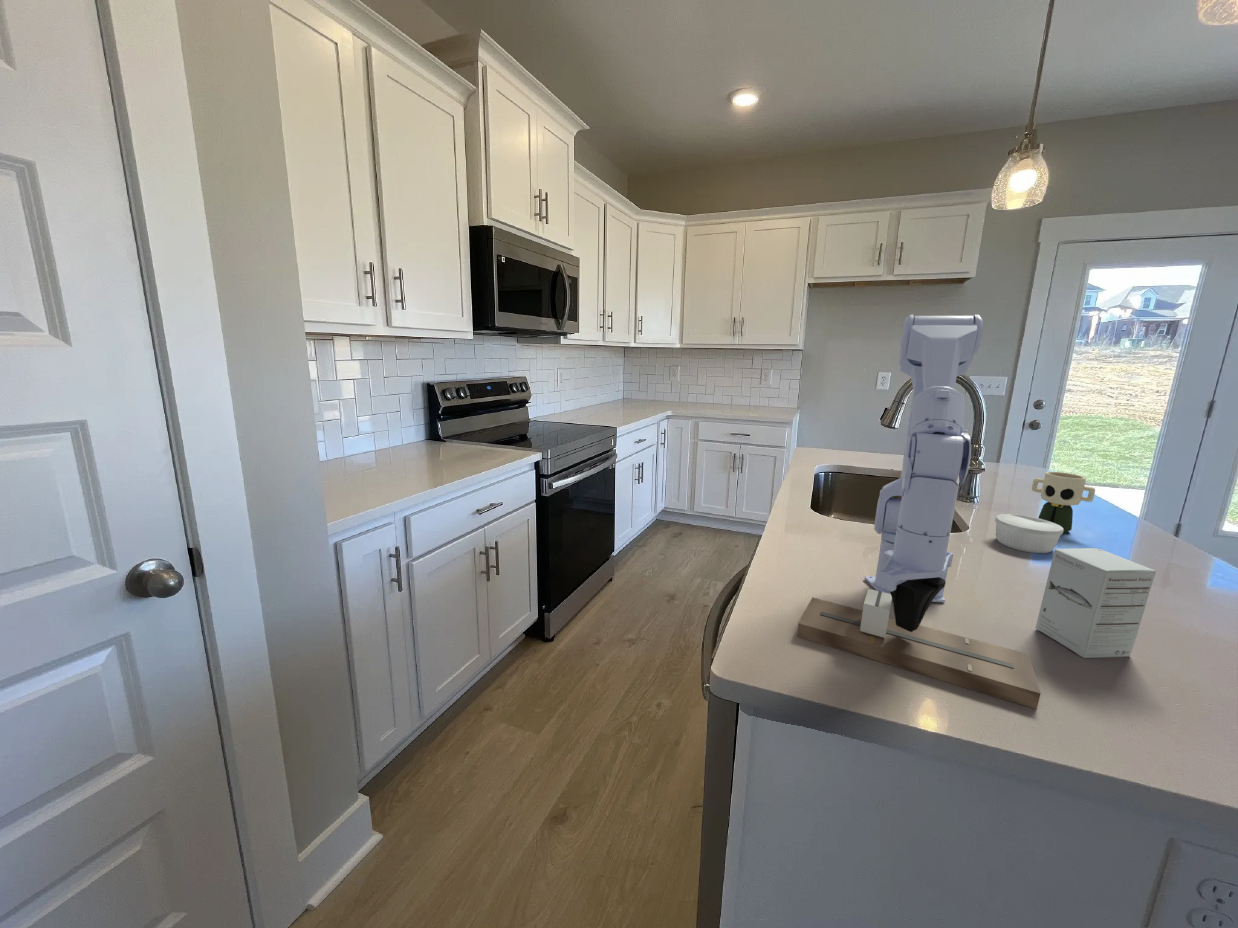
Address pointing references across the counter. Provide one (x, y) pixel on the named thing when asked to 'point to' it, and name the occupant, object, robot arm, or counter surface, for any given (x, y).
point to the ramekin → (1027, 533)
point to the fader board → (926, 652)
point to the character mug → (1061, 496)
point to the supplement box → (1094, 602)
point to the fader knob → (876, 613)
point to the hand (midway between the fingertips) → (906, 627)
